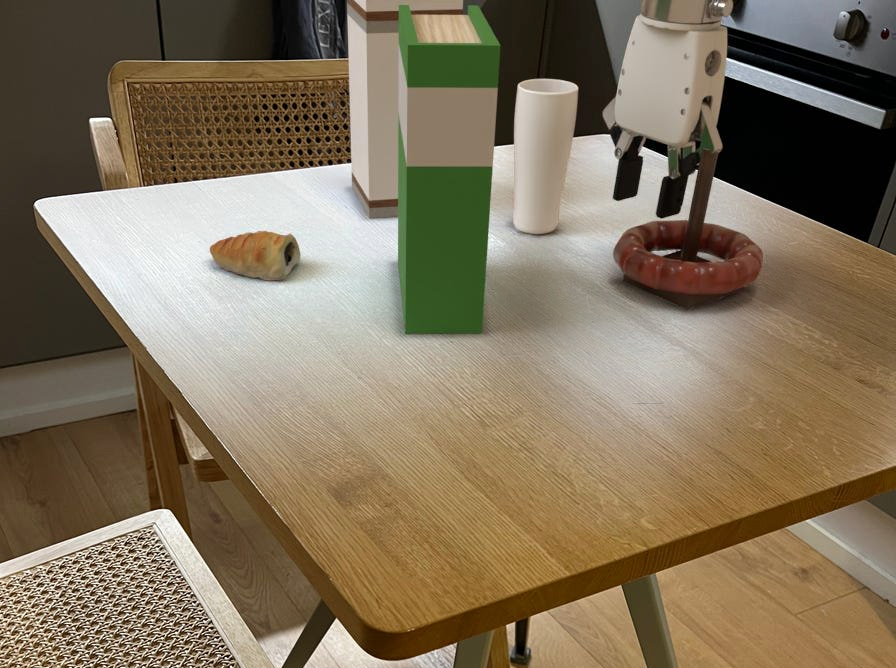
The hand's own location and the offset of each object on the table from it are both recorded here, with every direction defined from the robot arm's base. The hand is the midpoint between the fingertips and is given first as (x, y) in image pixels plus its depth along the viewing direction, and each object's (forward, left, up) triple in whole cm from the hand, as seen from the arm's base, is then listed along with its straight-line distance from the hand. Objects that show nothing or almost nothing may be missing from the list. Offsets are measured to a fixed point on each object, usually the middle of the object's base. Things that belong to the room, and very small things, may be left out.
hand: (646, 204), depth 102 cm
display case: (+32, +8, -7) cm, 34 cm away
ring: (-6, 0, -3) cm, 7 cm away
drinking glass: (+15, +1, -7) cm, 17 cm away
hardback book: (+6, +23, -7) cm, 25 cm away
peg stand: (-7, 0, -6) cm, 9 cm away
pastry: (+23, +34, -7) cm, 42 cm away
